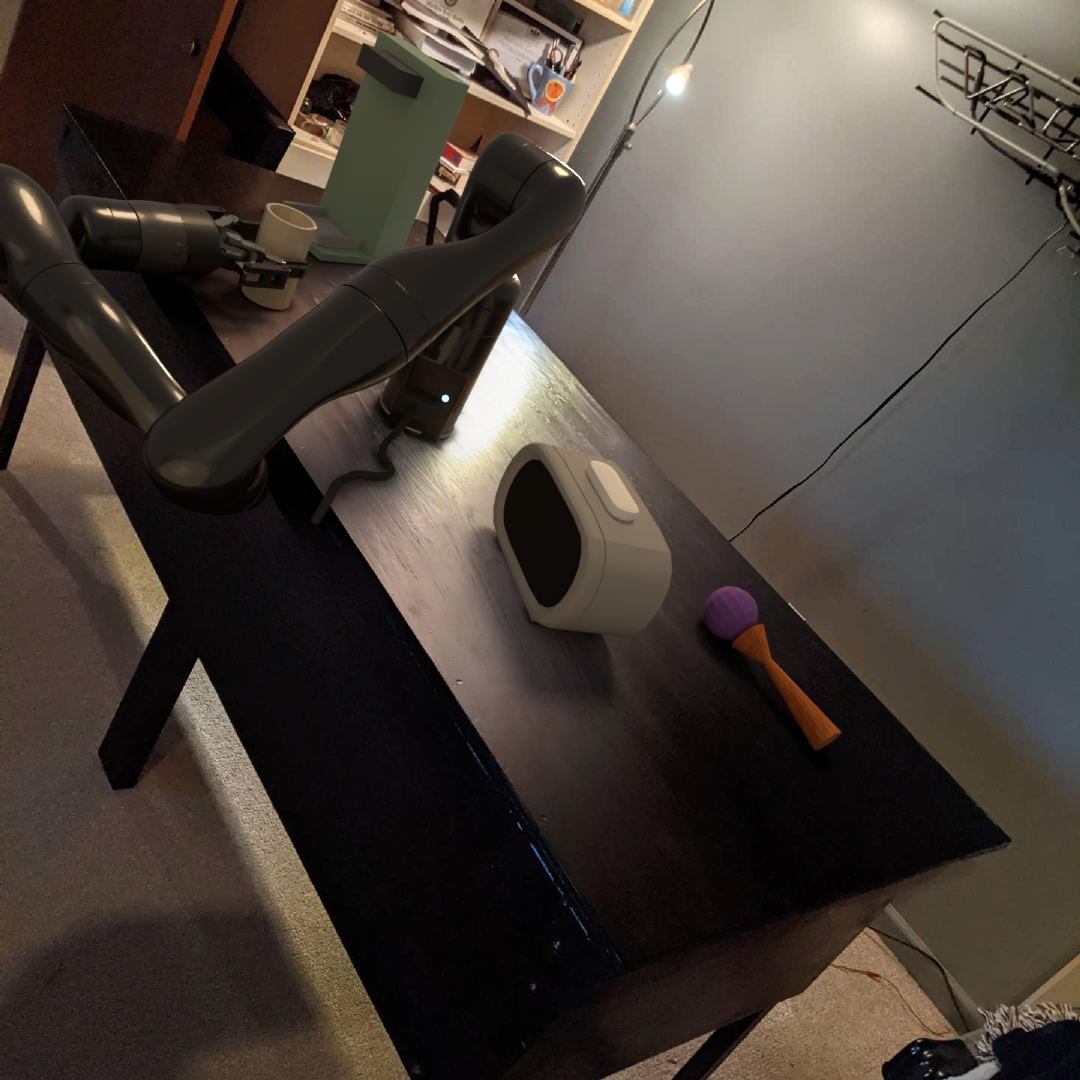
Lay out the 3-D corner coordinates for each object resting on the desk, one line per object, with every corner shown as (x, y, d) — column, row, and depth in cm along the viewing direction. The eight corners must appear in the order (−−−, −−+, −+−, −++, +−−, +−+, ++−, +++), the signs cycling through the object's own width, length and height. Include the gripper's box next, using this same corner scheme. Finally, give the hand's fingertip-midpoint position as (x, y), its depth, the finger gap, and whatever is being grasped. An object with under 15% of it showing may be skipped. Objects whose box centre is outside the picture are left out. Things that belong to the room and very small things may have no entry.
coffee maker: (319, 260, 124) (392, 57, 109) (263, 211, 128) (326, 9, 113) (395, 266, 137) (470, 85, 122) (342, 221, 141) (407, 41, 126)
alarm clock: (478, 512, 92) (534, 412, 85) (550, 526, 97) (609, 433, 90) (537, 655, 78) (610, 549, 71) (618, 663, 83) (693, 564, 76)
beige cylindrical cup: (282, 315, 105) (310, 234, 100) (235, 294, 103) (261, 210, 98) (293, 299, 110) (320, 221, 104) (248, 278, 108) (273, 198, 103)
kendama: (826, 735, 83) (709, 581, 93) (793, 764, 87) (684, 613, 96) (862, 718, 86) (745, 571, 96) (828, 747, 90) (720, 603, 100)
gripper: (120, 236, 95) (242, 247, 108) (191, 307, 90) (309, 309, 103) (134, 172, 91) (259, 192, 104) (209, 243, 87) (329, 254, 100)
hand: (284, 250), depth 104 cm, fingers open, 8 cm apart
